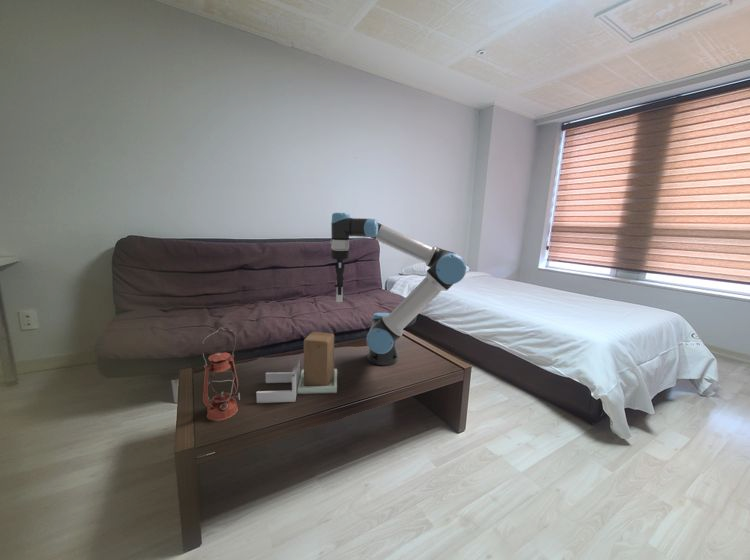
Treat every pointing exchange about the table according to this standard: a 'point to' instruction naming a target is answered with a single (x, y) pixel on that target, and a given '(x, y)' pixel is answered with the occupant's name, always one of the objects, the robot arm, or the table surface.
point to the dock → (281, 378)
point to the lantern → (222, 402)
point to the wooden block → (318, 359)
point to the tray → (317, 389)
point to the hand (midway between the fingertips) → (339, 298)
